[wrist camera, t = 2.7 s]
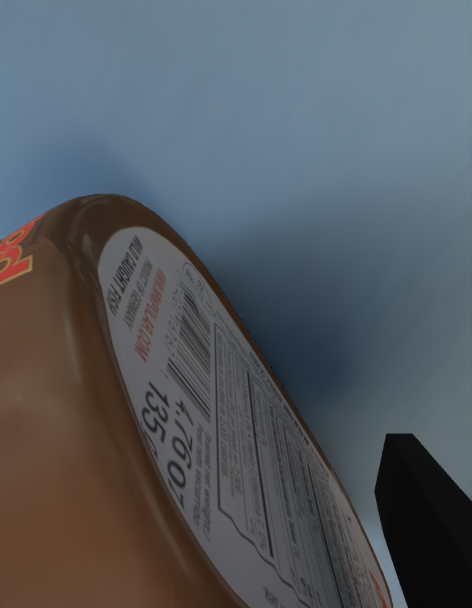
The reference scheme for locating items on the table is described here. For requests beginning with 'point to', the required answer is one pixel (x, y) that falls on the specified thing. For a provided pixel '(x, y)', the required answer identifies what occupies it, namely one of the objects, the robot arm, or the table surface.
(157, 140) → the table surface
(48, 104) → the table surface
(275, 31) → the table surface
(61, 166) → the table surface
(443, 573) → the robot arm
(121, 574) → the tin
